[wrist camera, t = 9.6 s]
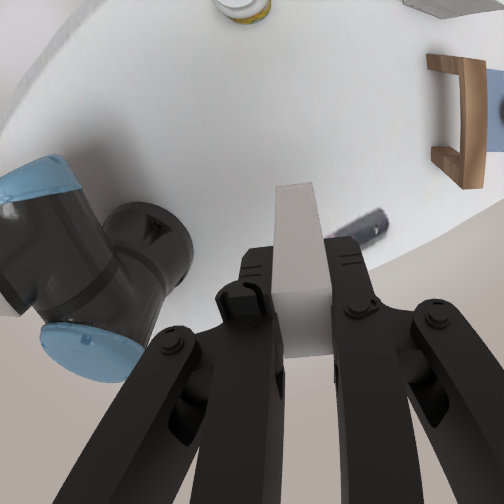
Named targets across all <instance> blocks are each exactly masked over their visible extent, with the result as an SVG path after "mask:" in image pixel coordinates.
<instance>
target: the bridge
mask: <svg viewBox="0 0 504 504" xmlns="http://www.w3.org/2000/svg"><path fill="white" fill-rule="evenodd" d="M426 56H427V66H428V69H430V70H435V71H441V72H445V73H450V74H455V75H459V84H460V110H461V135H460V153H459V152H457V151H456V150H454V149H453V148H452V147H450V146H447V147H431V161H432V162H433V163H434V164H435V165H436V166H437V167H439V168H440V169H441V170H442V171H443V172H444V173H445V174H446V175H447V176H449V177H450V178H451V179H452V180H453V181H454V182H455V183H456V184H457V185H458V186H459V187H460V188H461V189H462V190H463V189H479V188H483V183H484V174H485V163H486V149H487V127H488V93H487V72H486V61H484V60H477V59H471V58H464V57H456V56H447V55H434V54H426Z"/></svg>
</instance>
